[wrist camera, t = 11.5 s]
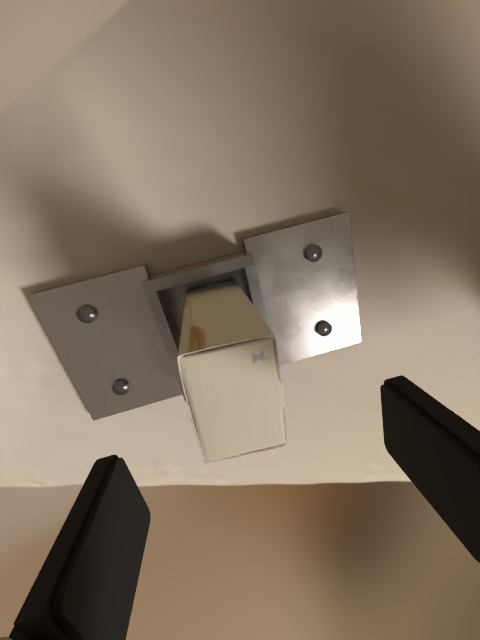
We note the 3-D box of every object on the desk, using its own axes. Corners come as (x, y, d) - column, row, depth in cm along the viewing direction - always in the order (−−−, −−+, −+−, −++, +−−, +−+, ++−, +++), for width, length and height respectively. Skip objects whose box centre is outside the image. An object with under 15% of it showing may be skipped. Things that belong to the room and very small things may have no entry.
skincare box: (185, 288, 22) (170, 348, 10) (236, 278, 22) (277, 327, 11) (201, 356, 24) (203, 470, 12) (247, 347, 24) (291, 448, 13)
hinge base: (344, 212, 22) (369, 208, 19) (356, 338, 26) (379, 353, 23) (32, 293, 21) (1, 304, 17) (96, 414, 25) (80, 442, 21)
